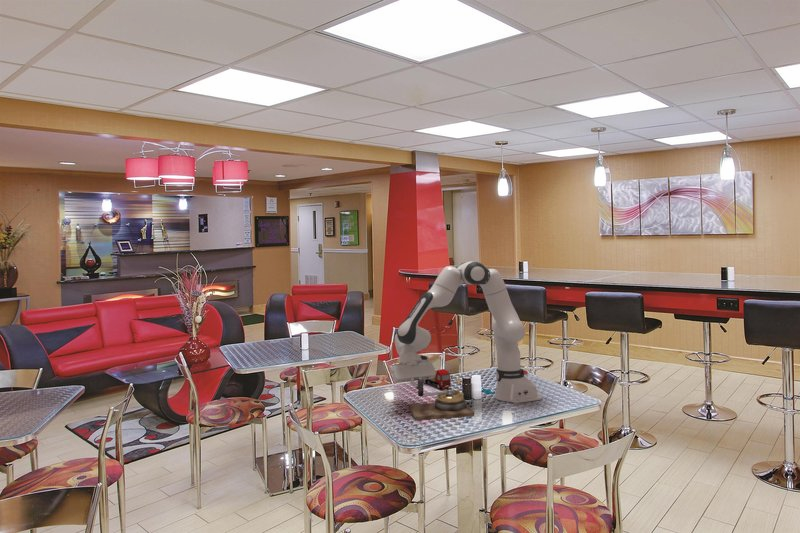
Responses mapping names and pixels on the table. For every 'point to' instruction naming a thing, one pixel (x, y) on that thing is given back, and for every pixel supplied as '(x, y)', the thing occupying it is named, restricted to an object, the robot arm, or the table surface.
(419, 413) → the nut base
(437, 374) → the toy truck
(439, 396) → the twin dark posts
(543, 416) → the table surface
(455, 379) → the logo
